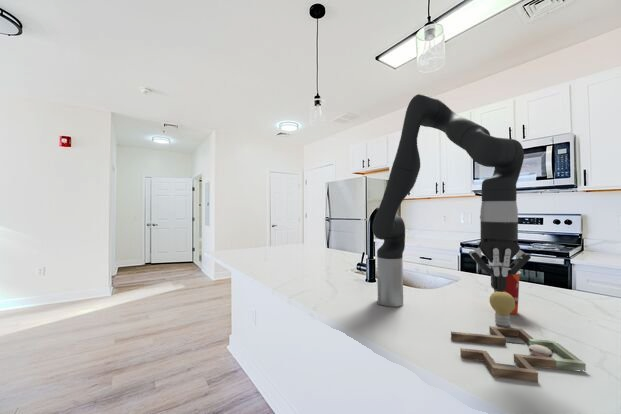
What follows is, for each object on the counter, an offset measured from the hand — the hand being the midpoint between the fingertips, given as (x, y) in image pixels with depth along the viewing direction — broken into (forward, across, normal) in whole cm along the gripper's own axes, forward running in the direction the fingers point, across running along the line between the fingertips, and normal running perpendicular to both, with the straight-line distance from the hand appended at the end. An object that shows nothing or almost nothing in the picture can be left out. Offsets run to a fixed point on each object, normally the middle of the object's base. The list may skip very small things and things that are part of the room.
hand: (498, 290), depth 67 cm
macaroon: (+15, +9, +1) cm, 18 cm away
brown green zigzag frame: (+15, +2, 0) cm, 15 cm away
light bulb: (+15, +7, +18) cm, 25 cm away
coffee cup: (+15, +13, +31) cm, 37 cm away
